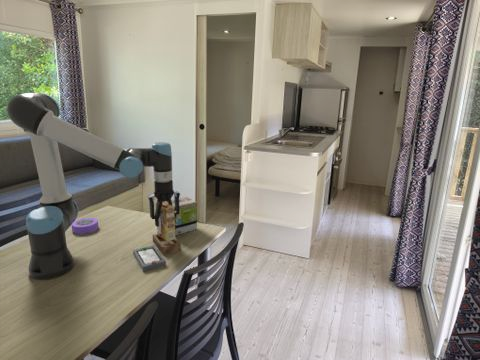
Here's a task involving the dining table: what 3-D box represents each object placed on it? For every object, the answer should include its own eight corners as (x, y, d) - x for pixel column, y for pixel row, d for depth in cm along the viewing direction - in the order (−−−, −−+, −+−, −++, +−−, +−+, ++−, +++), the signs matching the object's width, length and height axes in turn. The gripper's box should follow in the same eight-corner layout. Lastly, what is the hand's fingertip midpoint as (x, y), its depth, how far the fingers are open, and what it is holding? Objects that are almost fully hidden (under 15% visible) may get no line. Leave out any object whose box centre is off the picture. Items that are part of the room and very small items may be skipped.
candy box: (175, 239, 144) (174, 205, 140) (167, 242, 141) (165, 208, 137) (165, 232, 150) (163, 200, 146) (156, 235, 147) (155, 202, 143)
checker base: (143, 271, 127) (142, 265, 126) (133, 254, 139) (132, 248, 138) (166, 265, 131) (165, 259, 131) (154, 249, 144) (154, 243, 143)
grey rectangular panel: (145, 266, 129) (145, 264, 129) (138, 254, 138) (137, 251, 138) (160, 262, 132) (160, 260, 132) (152, 251, 141) (152, 248, 141)
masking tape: (74, 225, 166) (73, 218, 165) (99, 223, 169) (98, 216, 168) (70, 235, 155) (69, 228, 154) (97, 233, 158) (96, 225, 157)
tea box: (170, 238, 155) (169, 208, 151) (160, 230, 162) (159, 202, 158) (197, 229, 164) (197, 201, 160) (187, 223, 171) (186, 195, 167)
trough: (162, 254, 139) (162, 247, 138) (152, 241, 150) (152, 234, 149) (180, 250, 143) (180, 243, 142) (169, 238, 154) (169, 231, 153)
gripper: (144, 185, 131) (147, 239, 137) (187, 179, 140) (188, 230, 146) (139, 180, 137) (142, 232, 143) (180, 175, 146) (182, 224, 152)
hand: (165, 231), depth 145 cm, fingers closed on candy box, 5 cm apart
